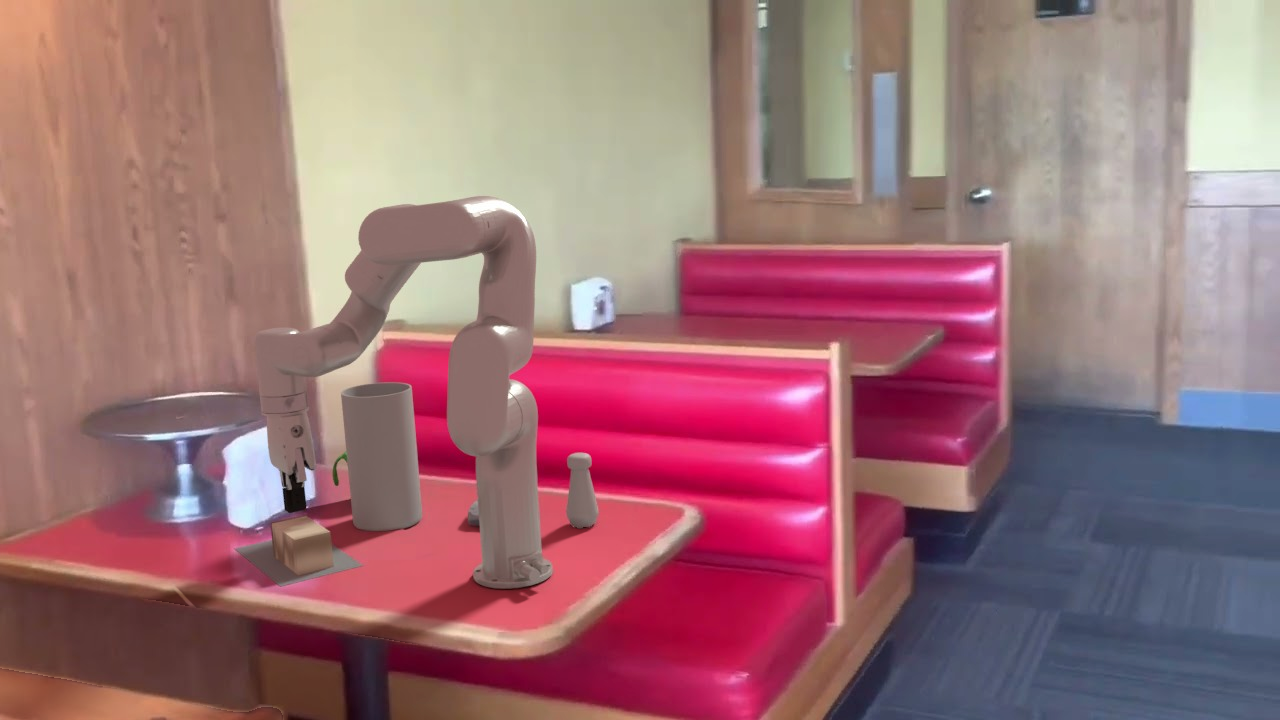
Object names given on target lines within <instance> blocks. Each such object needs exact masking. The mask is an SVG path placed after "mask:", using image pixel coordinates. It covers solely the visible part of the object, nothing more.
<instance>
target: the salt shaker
mask: <svg viewBox="0 0 1280 720" xmlns="http://www.w3.org/2000/svg"><path fill="white" fill-rule="evenodd" d="M592 461H593V460H592V457H591V455H590V454H589V453H586V452H574V453H571V454H570V455H568V456H567V459H566V462H567V467H568V469H569V470H570V477H569V486H568V487H569V488H568V494H567V495H568V496H567V501H566V502H567V503H566V509H565V512H566V517H567V520H568V521H569V523H570V525H571V527H572V528H575V527H577V529H584V528H583V527H589V528H591V527H593V526H594V525H593V524H596V522H597V519H598V516H599V514H600V513H599V512H600V511H599V510H600V509H599V506H598V502H597V497H596V494H595V493H596V492H595V489H594V486H593V481H592V478H591V473H590V470H589V468H591V467H592ZM592 525H593V526H592ZM573 526H574V527H573ZM590 526H591V527H590Z"/></svg>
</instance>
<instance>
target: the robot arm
mask: <svg viewBox="0 0 1280 720" xmlns="http://www.w3.org/2000/svg"><path fill="white" fill-rule="evenodd" d="M358 245H359V247H360V251H359V253H358V254H357V255H356V257H354V259H353V261H352V262H351V263H350V264H349V266H348V267H347V269H346V270H345V271H344V281H345V283H346V285H347V287H348V288H349V290H350V291H351V292H350V294H349V297H348V299H347V301H346V302H345V304H344V305H343V307H342V308H340V310H339V312H337V314H336V316H335V317H334V318H333V320H331V321H330V322H329V323H327V324H324V325H323V324H322V325H320V326H319V325H318V326H316V327H314V328H311V329H308V330H305V331H299V330H298V329H297V328H293V327H274V328H273V327H272V328H267V329H263V330H260V331H258V332H257V333H256V334H255V336H254V340H253V341H254V342H253V343H254V344H253V345H254V353H255V354H254V355H255V364H256V374H257V382H258V390H259V391H258V392H259V401H260V409H261V416H264V417H266V433H267V435H266V436H267V438H266V439H267V449H268V455H269V461H270V463H271V465H272V466H273V467H275V469H278V472H279V476H280V482H281V487H282V496H283V497H282V498H283V505H284V506H283V508H284V511H286V512H287V513H289V514H293V513H297V512H300V511H305V510H307V499H306V489H305V487H306V486H305V482H306V481H308V480H307V474H306V469H307V470H309V471H311V472H312V471H315V470H316V467H317V461H316V454H315V453H316V452H315V448H314V440H313V435H312V429H311V425H310V420H309V416H308V411H310V406H309V396H308V389H307V388H308V387H307V385H308V384H307V378H319V377H322V376H324V375H327V374H329V373H331V372H333V371H336V370H338V369H341V368H345V367H347V366H349V365H352V363H354V362H355V361H357V360H358V359H359V358H360V356H361V355H362V354H363V353H364V352H365V351H366V350H367V348H368V347H369V346H370V344H371V343H373V342H372V341H374V339H375V338H376V337H377V335H378V334H379V333H380V331H381V329H382V328H383V326H384V324H385V322H386V319H387V318H388V314H389V311H390V307H391V303H392V301H393V300H394V299H395V297H397V295H398V294H399V292H400V291H401V290H402V289H403V287H404V286H405V284H407V282H408V281H409V280H410V278H411V276H412V275H413V274H414V273H415V271H416V270H417V269H418V267H420V265H421V263H430V262H431V263H432V262H440V261H441V262H442V261H451V260H453V261H455V260H459V259H464V258H468V257H472V256H475V255H479V254H482V255H483V266H482V271H481V274H480V277H479V283H478V304H477V308H478V309H477V315H476V320H475V321H472V322H470V323H468V324H466V325H465V326H464V327H462V328H461V329H459V331H458V332H457V334H456V335H455V337H454V339H453V341H452V343H451V346H450V350H449V354H448V355H449V356H448V365H447V366H448V369H447V394H446V395H447V401H446V402H447V403H446V405H447V406H446V423H447V424H446V425H447V428H448V429H447V430H448V432H449V435H450V438H451V440H452V442H453V444H454V445H455V446H456V447H457V448H458V449H459V450H460V451H461V452H463V453H464V454H466V455H469V456H472V457H475V479H476V495H477V500H478V511H479V525H480V526H479V535H480V551H481V552H480V553H481V563H480V564H478V565H477V566H476V567H475V568H474V569H473V571H472V574H473V580H474V582H476V583H477V584H479V585H481V586H483V587H486V588H491V589H500V590H501V589H502V590H507V589H508V590H509V589H511V590H512V589H520V588H525V587H530V586H534V585H536V584H541V583H542V582H544V581H546V580H547V579H549V578H550V577H551V576H552V574H553V573H554V571H553V570H554V567H553V563H552V562H551V561H550V560H549V559H547V558H545V557H543V551H542V550H543V548H542V533H541V519H540V504H539V503H540V501H539V500H540V499H539V489H538V469H537V468H538V467H537V464H538V463H537V439H538V438H537V436H538V425H539V424H538V423H539V422H538V421H539V414H538V411H539V410H538V405H537V402H536V398H535V396H534V395H533V392H532V391H531V390H530V388H528V387H527V386H526V385H525V384H524V383H522V382H521V381H519V380H516V379H510V376H511V375H512V374H515V373H516V372H518V371H519V370H521V369H522V368H523V367H525V366H526V365H528V363H529V361H530V359H531V358H532V355H533V350H534V331H535V329H534V328H535V306H536V304H535V303H536V302H535V301H536V297H535V295H536V293H535V292H536V290H535V289H536V272H537V271H536V270H537V246H536V239H535V235H534V233H533V230H532V227H531V225H530V223H529V222H528V220H527V219H526V217H525V215H523V213H521V211H519V209H517V208H516V207H515V206H514V205H512V204H511V203H509V202H508V201H506V200H503V199H501V198H498V197H495V196H494V197H493V196H490V195H489V196H488V195H477V196H470V197H469V196H468V197H466V198H460V199H455V200H454V199H453V200H447V201H440V202H434V203H426V204H417V205H416V204H412V203H405V204H404V203H403V204H396V205H391V206H384V207H379V208H377V209H375V210H373V211H371V212H370V213H369V214H368V215H366V217H365V218H364V219H363V221H362V222H361V225H360V227H359V230H358Z"/></svg>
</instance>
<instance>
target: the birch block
mask: <svg viewBox="0 0 1280 720" xmlns="http://www.w3.org/2000/svg"><path fill="white" fill-rule="evenodd" d="M269 524H270V532H271V540H272V543H273V552H274V557H275V558H277V559H278V560H279V561H281V562H282V563H283V564H284V565H286V566H287V567H288V568H290V569H291V570H292V571H293V572H295V573H296V574H297V575H301V574H306V573H310V572H314V571H318V570H322V569H326V568H330V567H334V564H333V554H332V545H333V544H332V535H331V531H330V530H328V529H327V528H326V527H324V526H322V525H321V524H319V523H318V522H316V521H314V520H313V519H311V517H308V516H307V515H305V514H303V515H299V516H294V517H290V518H286V519H280V520H276V521H272V522H270V523H269Z"/></svg>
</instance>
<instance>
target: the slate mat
mask: <svg viewBox="0 0 1280 720" xmlns="http://www.w3.org/2000/svg"><path fill="white" fill-rule="evenodd" d="M234 550H235V551H236V552H238V553H239V554H240V555H241V556H243V557H244V558H245V560H247V561H248V562H249V563H251V564H252V565H254V566H255V567H256V568H257V569H258V570H260V572H262V574H264V575H266V576H267V577H268V578H269V579H270V580H272V581H273V582H274V583H275V584H276V585H278V587H284V586H289V585H293V584H296V583H297V584H298V583H300V582H305V581H309V580H312V579H316V578H320V577H324V576H329V575H333V574H336V573H341V572H344V571H348V570H352V569H356V568H357V569H358V568H361V567H364V565H363V564H362V563H360V562H359V561H358V560H356V559H354V558H353V557H351V556H350V555H349V554H347V553H346V552H344V551H343V550H341V549H340V548H339V547H338V546H335V545H334V544H332V554H333V564H334V567H330V568H326V569H322V570H318V571H314V572H310V573H306V574H301V575H297V574H296V573H295V572H293V571H292V570H291V569H290V568H288V567H287V566H286V565H284V564H283V563H282V562H281V561H279V560H278V559H277V558H275V557H274V552H273V543H272V539H270V540H266V541H261V542H256V543H252V544H249V545H248V544H247V545H244V546H239V547H235V548H234Z"/></svg>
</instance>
